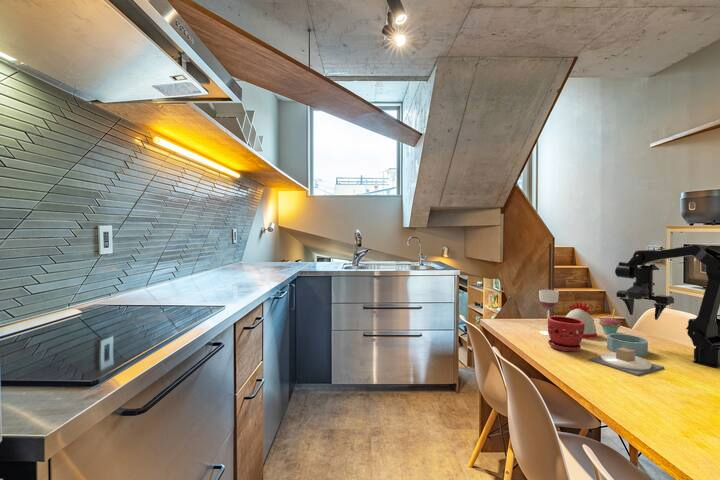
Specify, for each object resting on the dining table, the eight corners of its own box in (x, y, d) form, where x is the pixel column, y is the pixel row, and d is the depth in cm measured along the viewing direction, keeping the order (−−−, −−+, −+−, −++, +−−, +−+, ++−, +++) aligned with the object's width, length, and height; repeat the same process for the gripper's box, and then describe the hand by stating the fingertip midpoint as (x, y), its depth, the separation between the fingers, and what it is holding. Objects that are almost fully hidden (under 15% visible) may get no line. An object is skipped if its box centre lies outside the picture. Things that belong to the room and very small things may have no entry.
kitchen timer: (594, 339, 158) (594, 306, 158) (559, 334, 167) (559, 302, 167) (598, 333, 169) (598, 301, 169) (565, 328, 178) (565, 298, 178)
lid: (660, 366, 125) (661, 353, 125) (635, 373, 119) (636, 359, 119) (616, 353, 138) (616, 341, 138) (592, 358, 132) (592, 346, 132)
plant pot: (563, 354, 139) (563, 323, 139) (540, 344, 152) (540, 316, 152) (592, 352, 141) (592, 322, 141) (566, 342, 154) (567, 314, 154)
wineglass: (534, 332, 170) (535, 290, 170) (547, 330, 174) (547, 289, 173) (549, 336, 163) (550, 292, 163) (562, 334, 167) (562, 291, 166)
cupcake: (614, 330, 174) (614, 305, 173) (625, 335, 165) (625, 309, 165) (595, 330, 174) (595, 305, 174) (605, 335, 166) (605, 309, 166)
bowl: (654, 353, 141) (655, 340, 141) (635, 357, 135) (635, 344, 135) (619, 343, 152) (619, 332, 152) (599, 347, 147) (600, 335, 147)
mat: (664, 368, 125) (664, 366, 125) (636, 375, 118) (637, 374, 118) (615, 354, 139) (615, 352, 139) (588, 360, 133) (588, 358, 133)
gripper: (608, 278, 155) (608, 314, 155) (659, 284, 138) (658, 324, 138) (624, 277, 159) (623, 312, 160) (675, 282, 142) (674, 321, 143)
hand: (643, 317), depth 150 cm, fingers open, 9 cm apart
